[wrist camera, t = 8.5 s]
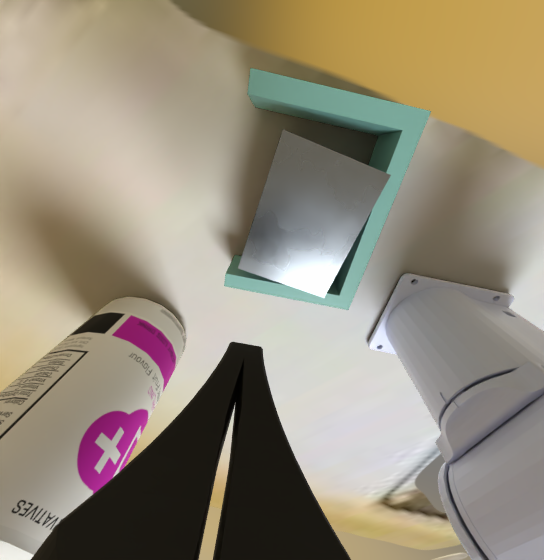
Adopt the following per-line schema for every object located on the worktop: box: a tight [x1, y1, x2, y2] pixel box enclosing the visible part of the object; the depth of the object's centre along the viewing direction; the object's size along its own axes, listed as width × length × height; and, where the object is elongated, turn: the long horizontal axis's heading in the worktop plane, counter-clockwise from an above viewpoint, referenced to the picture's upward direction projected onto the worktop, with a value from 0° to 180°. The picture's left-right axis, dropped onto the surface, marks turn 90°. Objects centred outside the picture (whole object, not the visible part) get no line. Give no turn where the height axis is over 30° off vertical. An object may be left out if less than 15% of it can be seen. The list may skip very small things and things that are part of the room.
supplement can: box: [0, 297, 186, 560], centre depth 17 cm, size 8×8×15 cm
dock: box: [224, 68, 431, 310], centre depth 16 cm, size 9×12×4 cm
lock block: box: [238, 129, 391, 298], centre depth 16 cm, size 6×8×4 cm
